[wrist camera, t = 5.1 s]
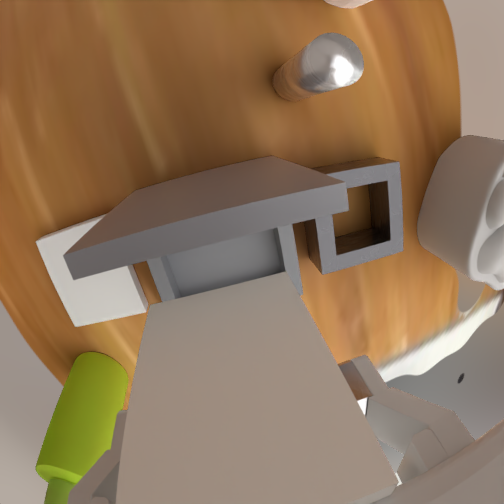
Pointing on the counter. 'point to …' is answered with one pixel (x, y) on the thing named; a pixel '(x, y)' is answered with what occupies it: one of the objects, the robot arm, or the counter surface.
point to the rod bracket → (382, 216)
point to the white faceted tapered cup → (347, 3)
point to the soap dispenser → (81, 423)
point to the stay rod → (319, 68)
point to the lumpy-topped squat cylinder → (467, 209)
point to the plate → (90, 281)
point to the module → (244, 407)
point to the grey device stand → (211, 226)
